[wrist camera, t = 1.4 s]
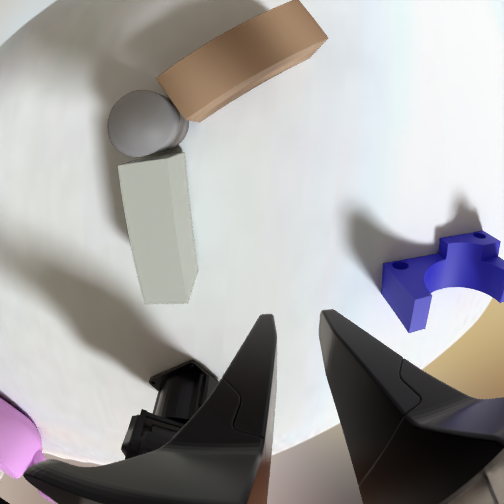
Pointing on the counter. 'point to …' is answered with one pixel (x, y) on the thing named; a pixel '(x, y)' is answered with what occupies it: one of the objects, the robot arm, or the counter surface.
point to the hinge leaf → (155, 196)
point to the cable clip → (443, 275)
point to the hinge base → (240, 62)
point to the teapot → (18, 443)
